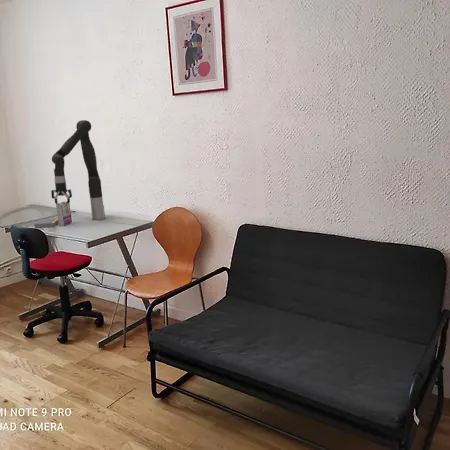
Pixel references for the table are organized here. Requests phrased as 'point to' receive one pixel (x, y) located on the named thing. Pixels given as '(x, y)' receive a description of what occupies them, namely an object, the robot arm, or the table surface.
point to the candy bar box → (63, 213)
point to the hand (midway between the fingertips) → (62, 203)
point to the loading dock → (46, 223)
